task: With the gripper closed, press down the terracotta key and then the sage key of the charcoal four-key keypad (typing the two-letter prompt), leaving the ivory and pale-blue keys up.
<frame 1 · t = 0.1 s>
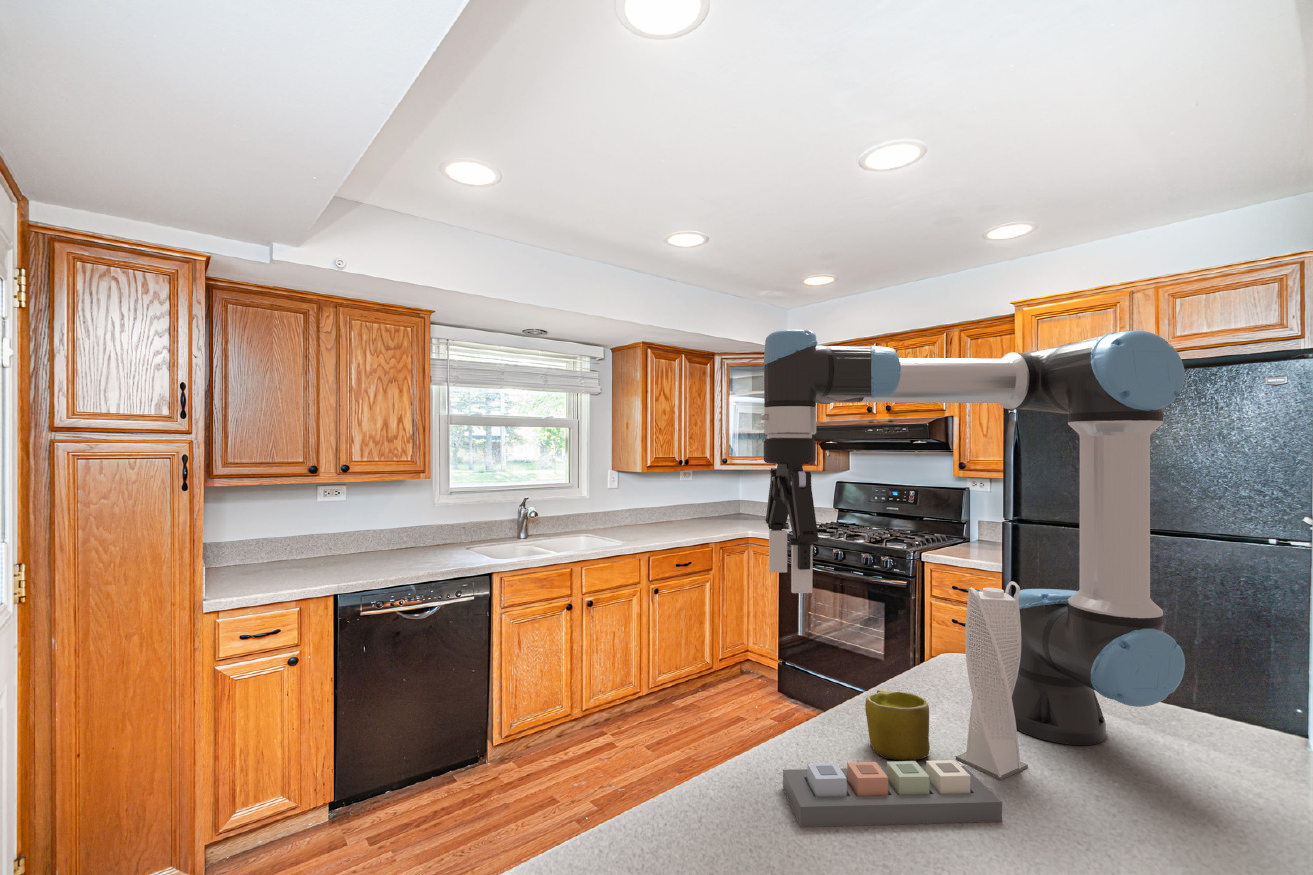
hand: (789, 581, 93), 28 cm above the countertop, fingers open, 13 cm apart
skyscraper: (993, 767, 94), on the countertop
key ivory: (947, 778, 85), point 3 cm above the countertop, slide at 0.0 cm
mug: (895, 746, 101), on the countertop
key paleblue: (826, 781, 84), point 3 cm above the countertop, slide at 0.0 cm
key sage: (907, 779, 84), point 3 cm above the countertop, slide at 0.0 cm
keyguard frame: (887, 803, 84), on the countertop
key terracotta: (867, 780, 84), point 3 cm above the countertop, slide at 0.0 cm
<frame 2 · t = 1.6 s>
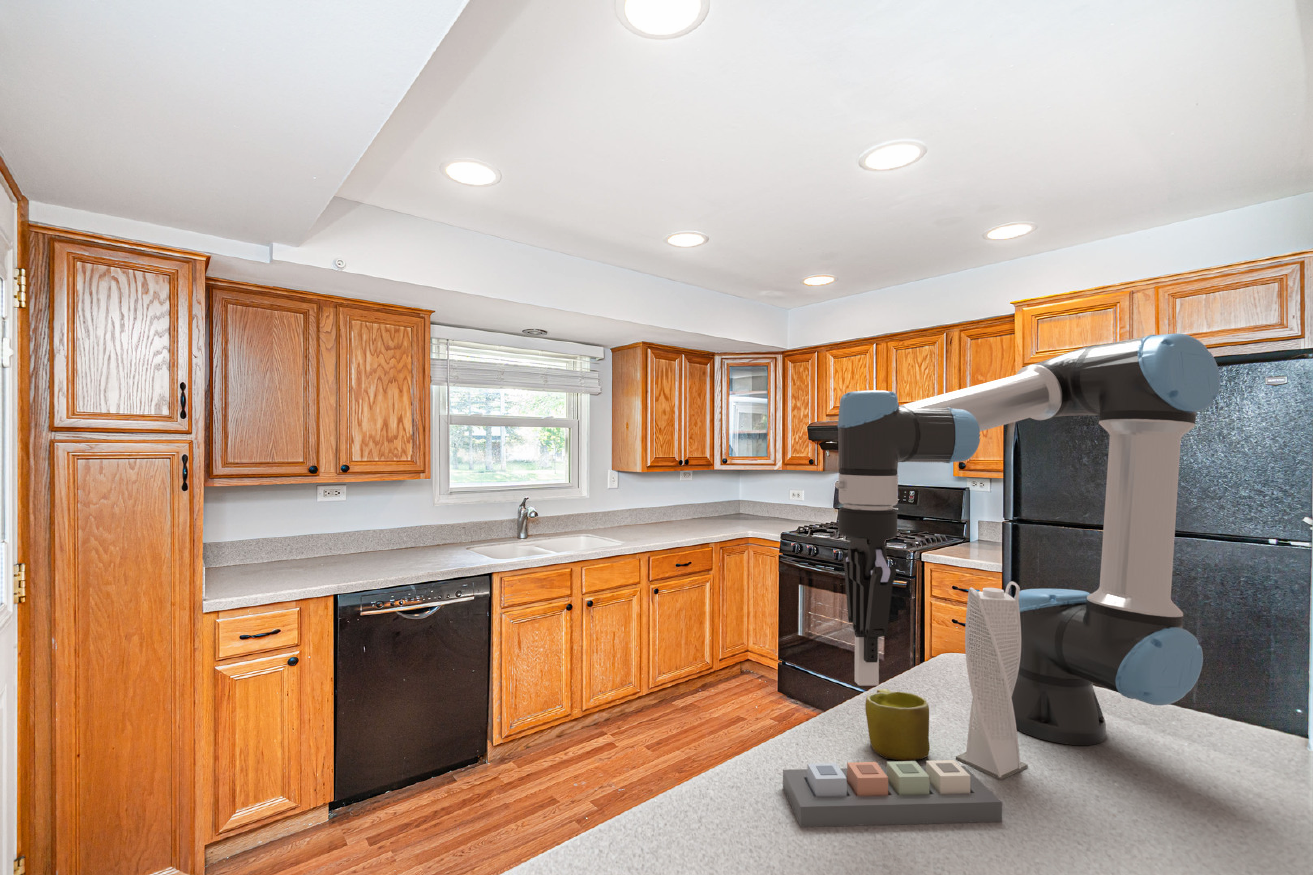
hand: (866, 683, 84), 16 cm above the countertop, fingers closed
nothing on the countertop moved.
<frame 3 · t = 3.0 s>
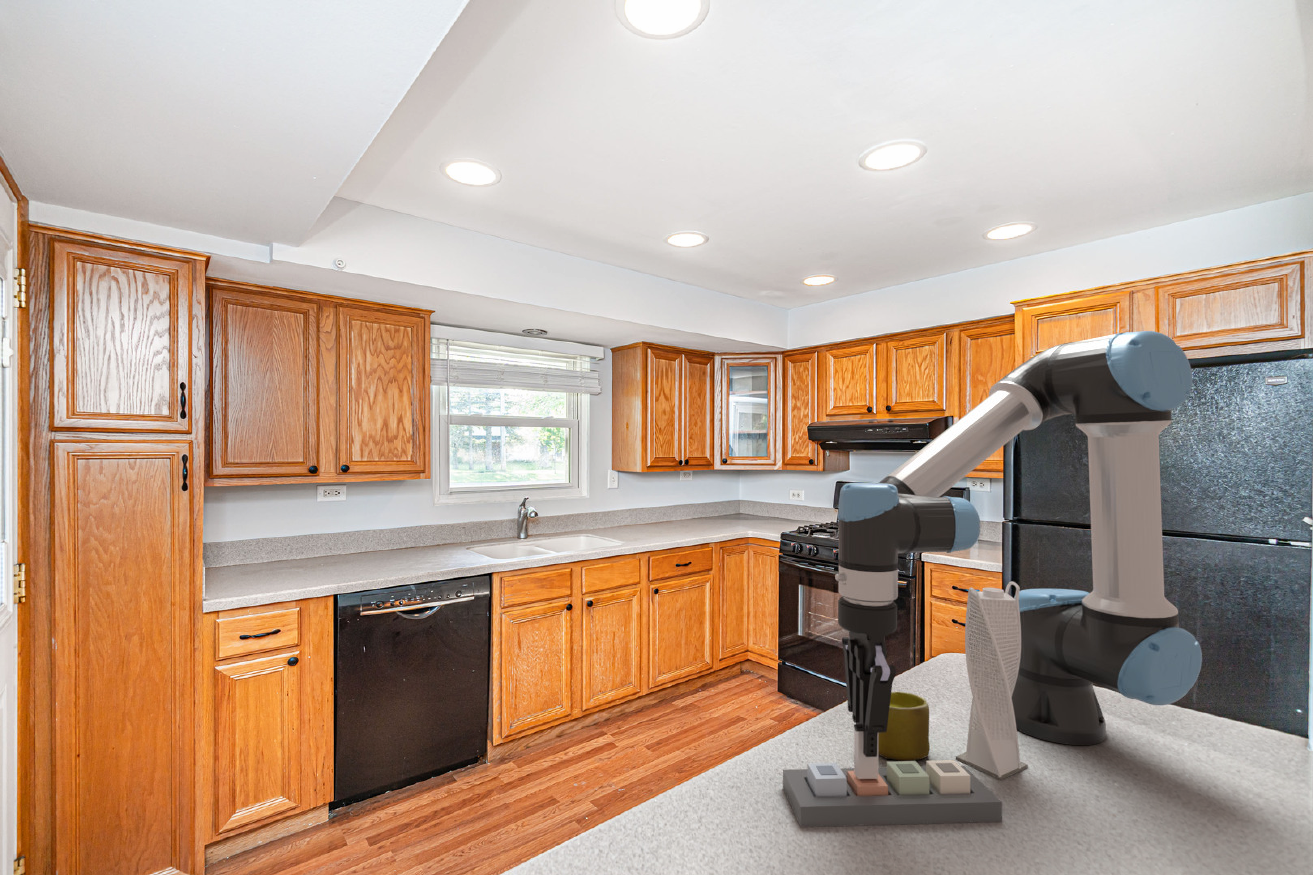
hand: (866, 775, 84), 4 cm above the countertop, fingers closed
key terracotta: (867, 789, 84), point 2 cm above the countertop, slide at 1.2 cm, touching gripper
everything else where it was.
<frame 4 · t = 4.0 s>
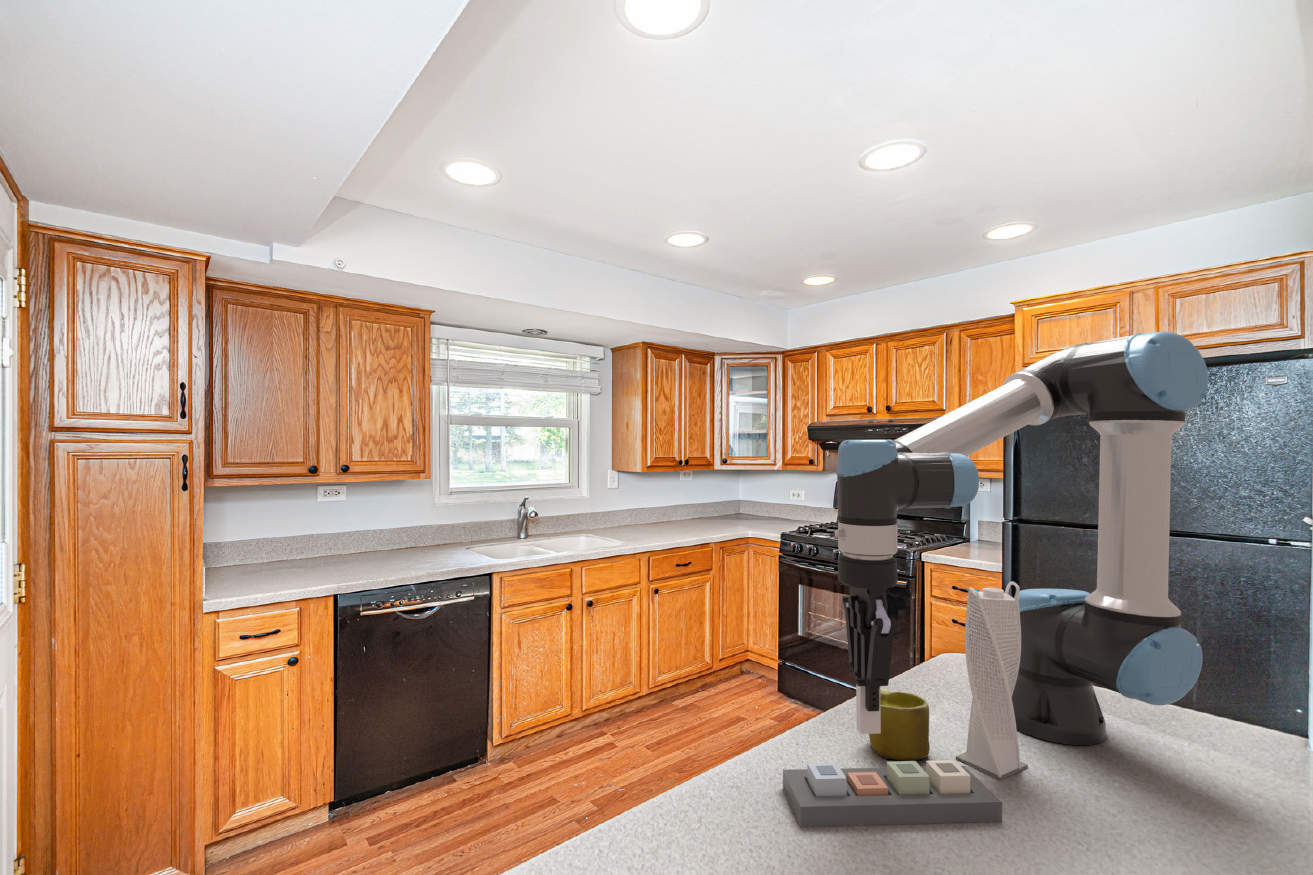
hand: (868, 730, 84), 10 cm above the countertop, fingers closed
key terracotta: (867, 790, 84), point 2 cm above the countertop, slide at 1.4 cm
everything else where it was.
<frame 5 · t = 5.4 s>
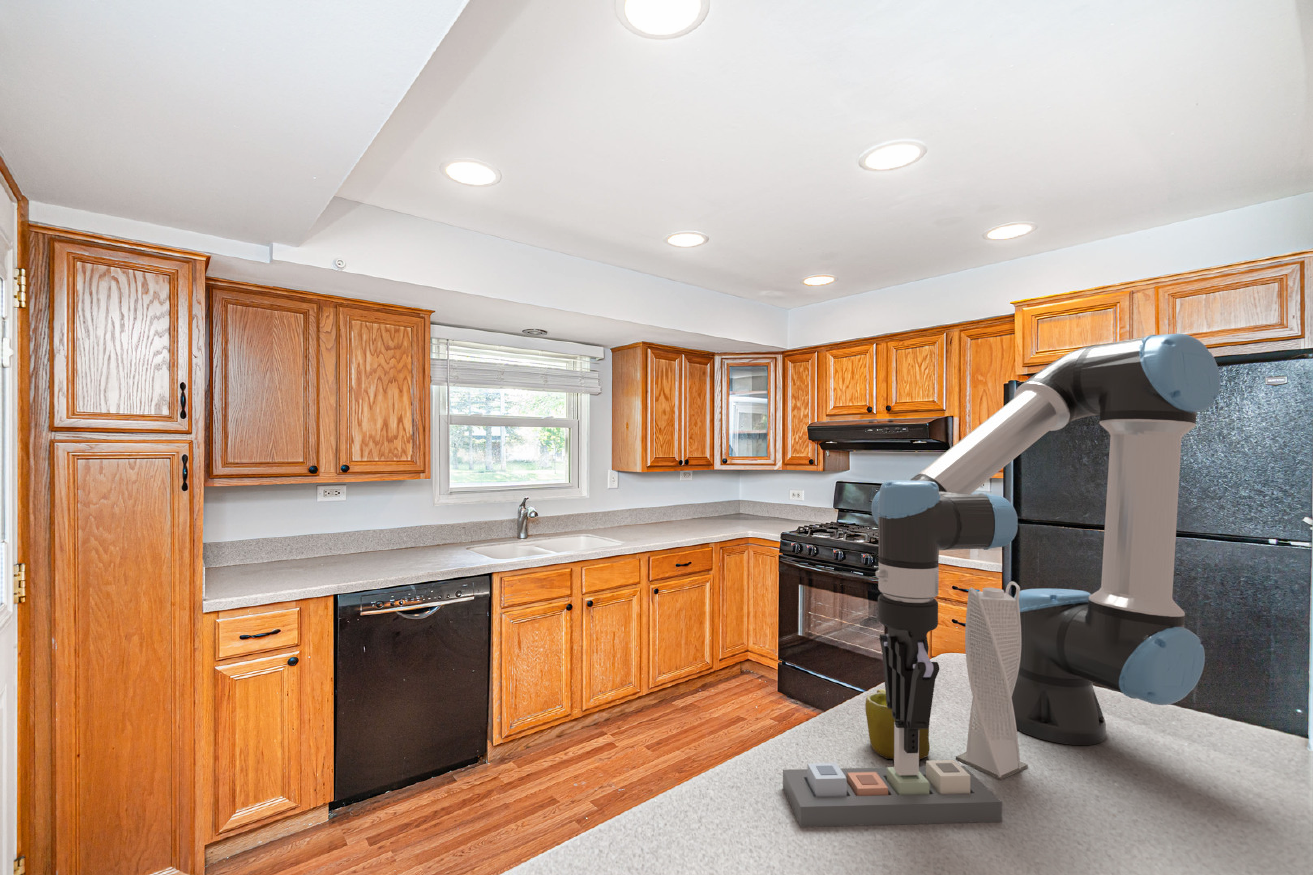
hand: (906, 772, 84), 4 cm above the countertop, fingers closed
key sage: (907, 785, 84), point 2 cm above the countertop, slide at 0.8 cm, touching gripper
everything else where it was.
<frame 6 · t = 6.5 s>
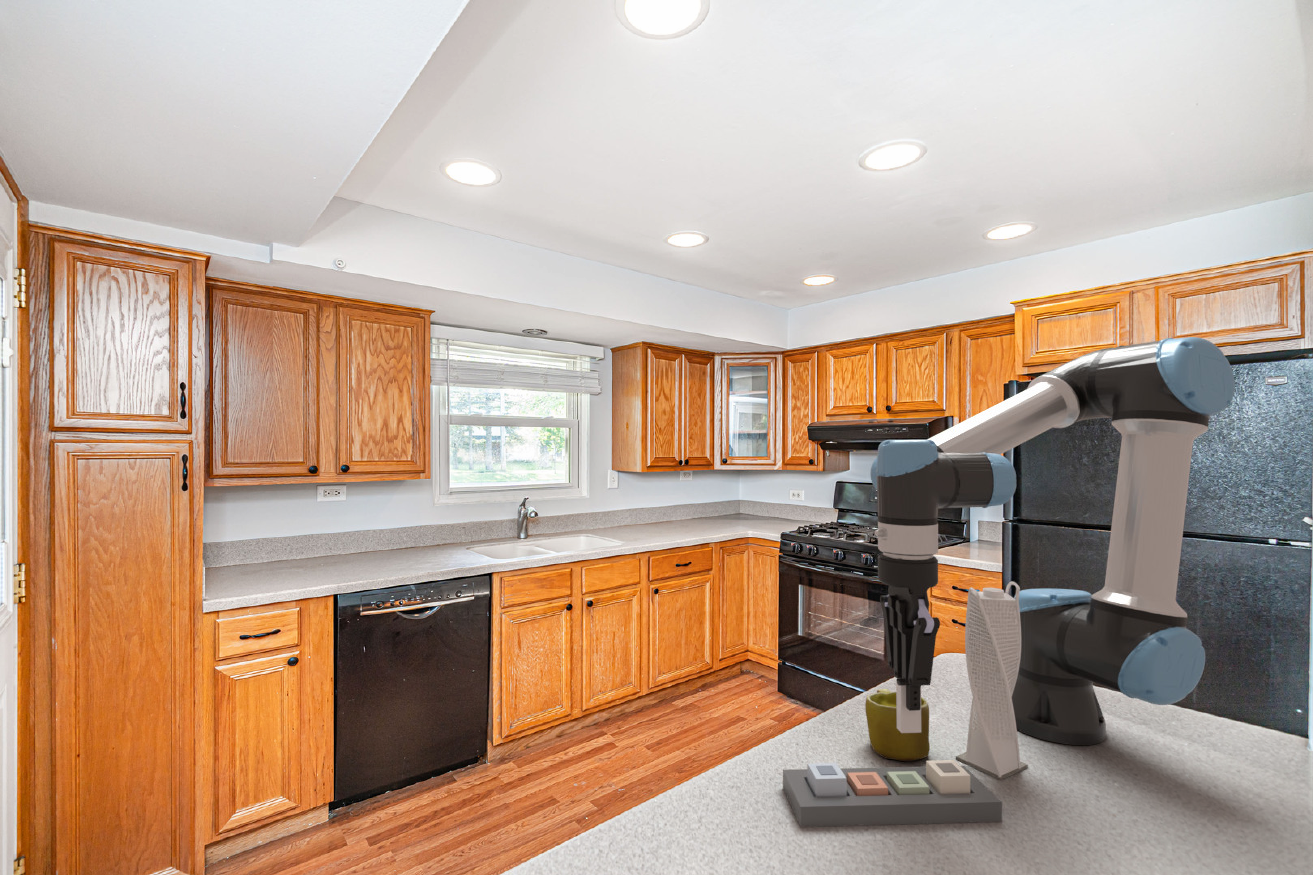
hand: (908, 729, 85), 10 cm above the countertop, fingers closed
key sage: (907, 789, 84), point 2 cm above the countertop, slide at 1.4 cm
everything else where it was.
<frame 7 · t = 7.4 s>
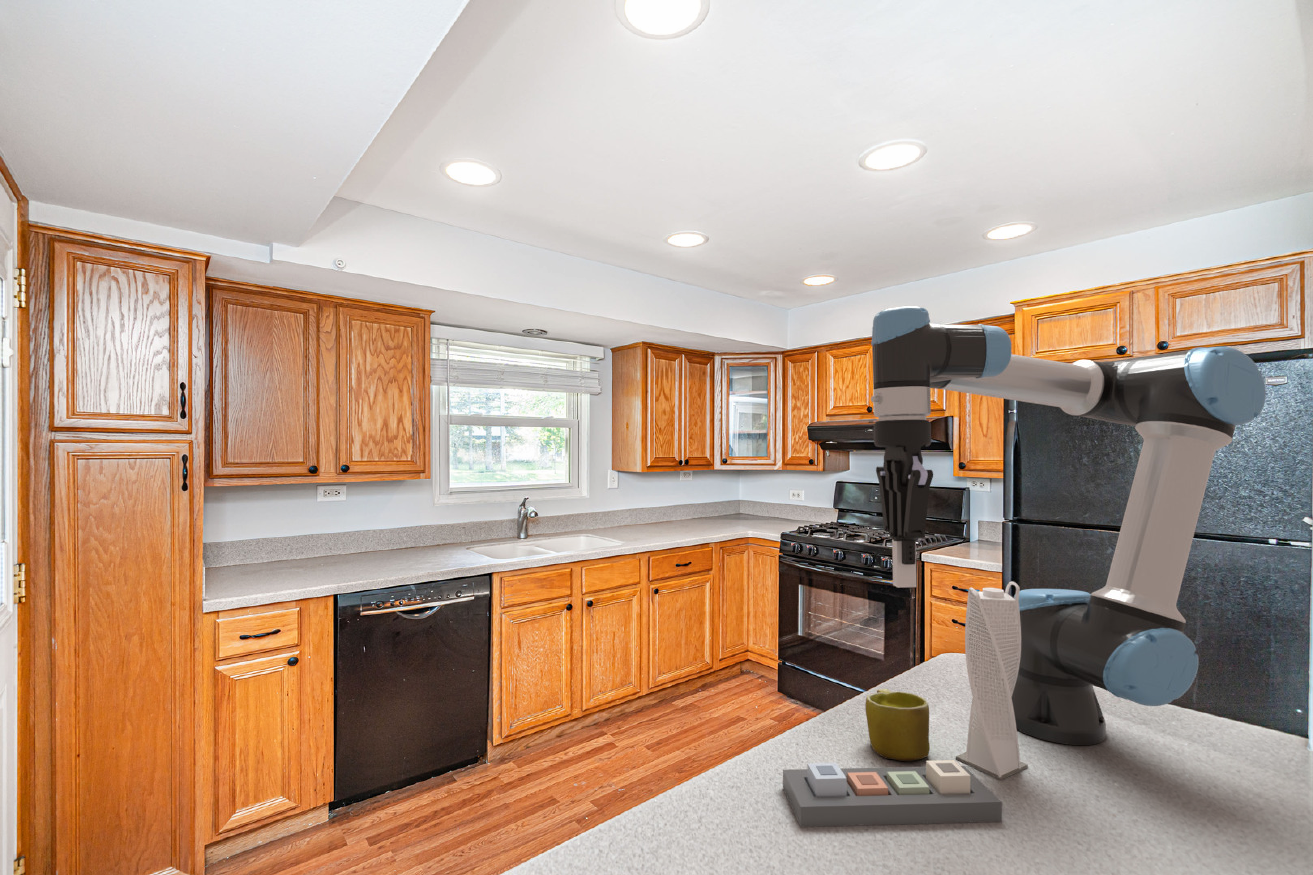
hand: (904, 585, 89), 28 cm above the countertop, fingers closed
nothing on the countertop moved.
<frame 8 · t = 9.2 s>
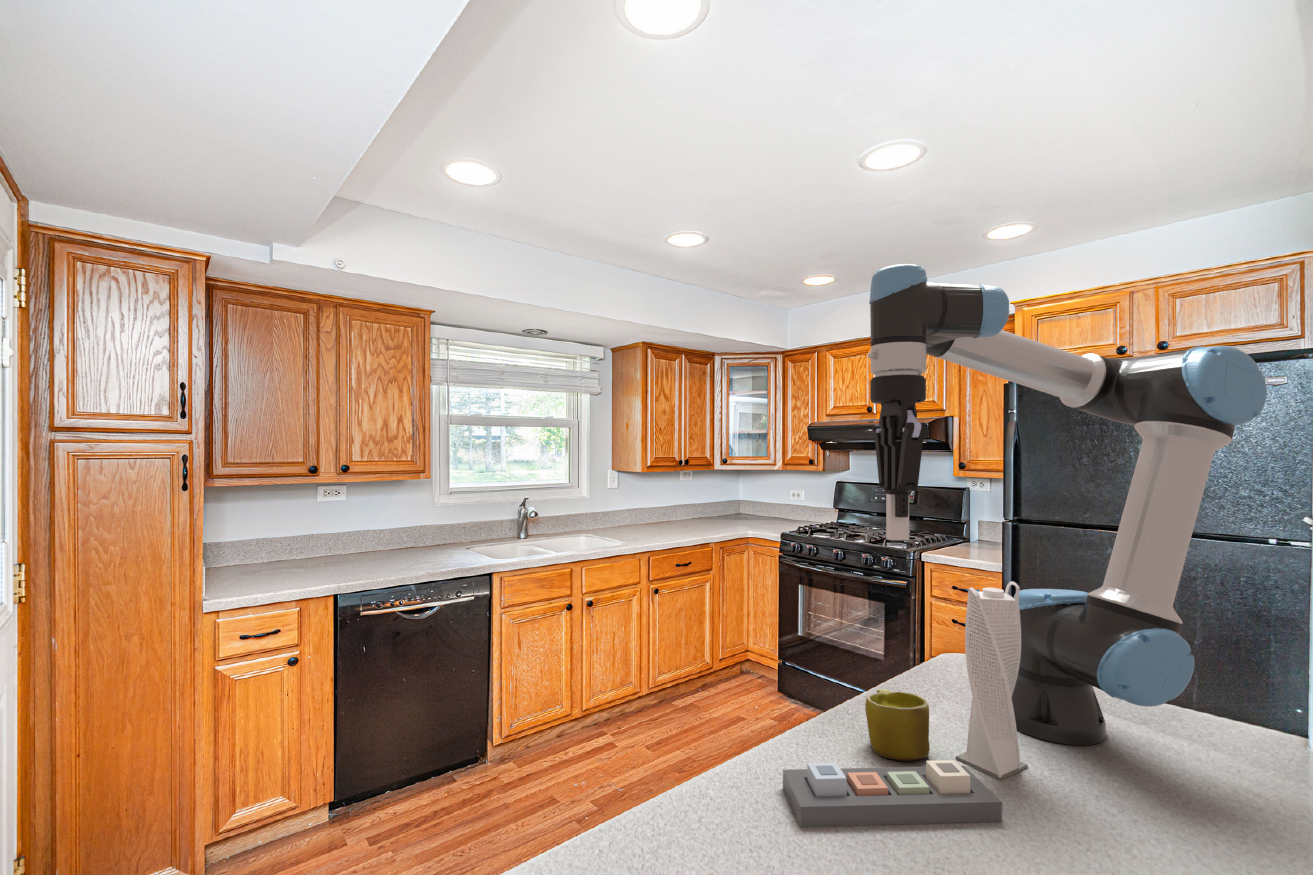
hand: (897, 539, 91), 34 cm above the countertop, fingers closed
nothing on the countertop moved.
at the end: key terracotta slide at 1.4 cm; key sage slide at 1.4 cm; key ivory slide at 0.0 cm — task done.
